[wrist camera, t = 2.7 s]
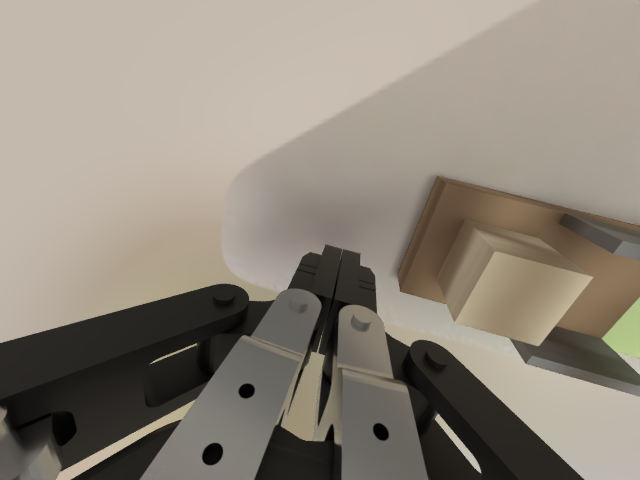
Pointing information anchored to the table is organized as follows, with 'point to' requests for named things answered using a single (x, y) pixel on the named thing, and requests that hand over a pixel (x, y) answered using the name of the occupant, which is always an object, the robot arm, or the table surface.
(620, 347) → the pad
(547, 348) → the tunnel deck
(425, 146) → the table surface
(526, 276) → the block
